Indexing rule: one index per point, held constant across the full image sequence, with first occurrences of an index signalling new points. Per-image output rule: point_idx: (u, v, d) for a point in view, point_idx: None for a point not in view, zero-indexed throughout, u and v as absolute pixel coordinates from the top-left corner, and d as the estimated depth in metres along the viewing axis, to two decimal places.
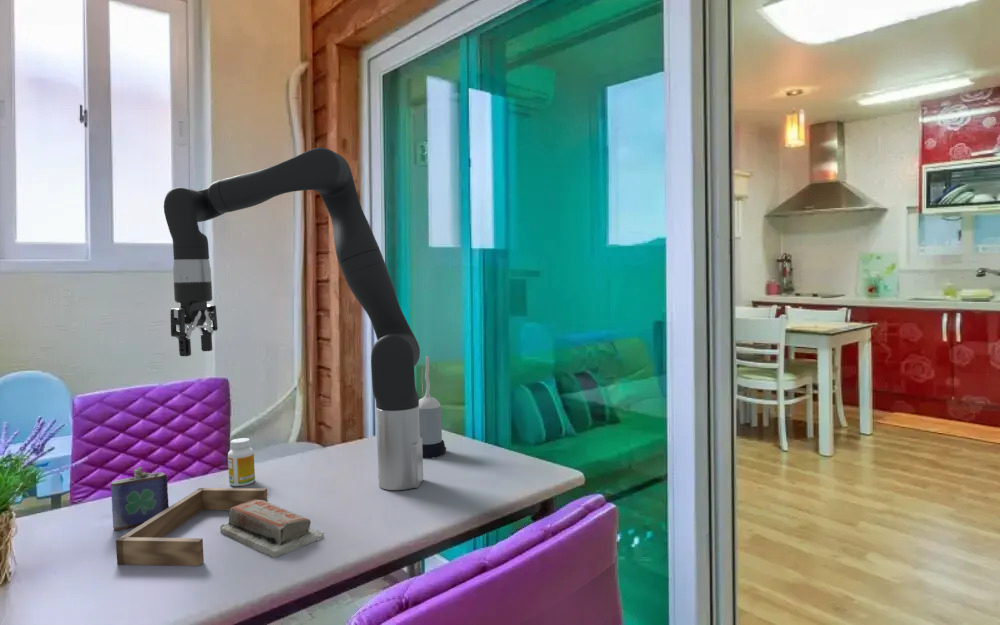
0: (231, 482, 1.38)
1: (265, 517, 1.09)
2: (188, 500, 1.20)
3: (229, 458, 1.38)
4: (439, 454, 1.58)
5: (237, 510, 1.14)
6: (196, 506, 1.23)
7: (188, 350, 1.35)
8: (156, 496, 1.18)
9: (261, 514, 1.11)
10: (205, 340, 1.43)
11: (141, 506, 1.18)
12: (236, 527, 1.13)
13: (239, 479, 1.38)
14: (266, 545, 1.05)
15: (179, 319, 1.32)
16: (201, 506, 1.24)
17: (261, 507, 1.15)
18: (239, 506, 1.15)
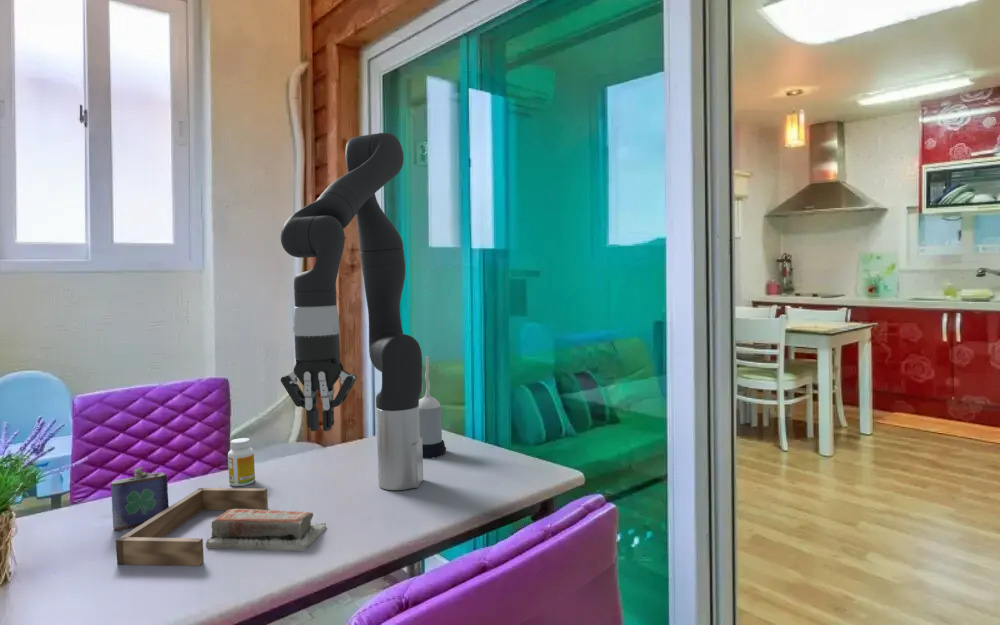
0: (231, 482, 1.38)
1: (271, 518, 1.09)
2: (188, 500, 1.20)
3: (229, 458, 1.38)
4: (439, 454, 1.58)
5: (225, 520, 1.09)
6: (196, 506, 1.23)
7: None
8: (156, 496, 1.18)
9: (261, 517, 1.10)
10: (316, 416, 1.10)
11: (141, 506, 1.18)
12: (227, 538, 1.09)
13: (239, 479, 1.38)
14: (288, 542, 1.06)
15: (350, 387, 1.10)
16: (201, 506, 1.24)
17: (249, 512, 1.12)
18: (222, 517, 1.10)
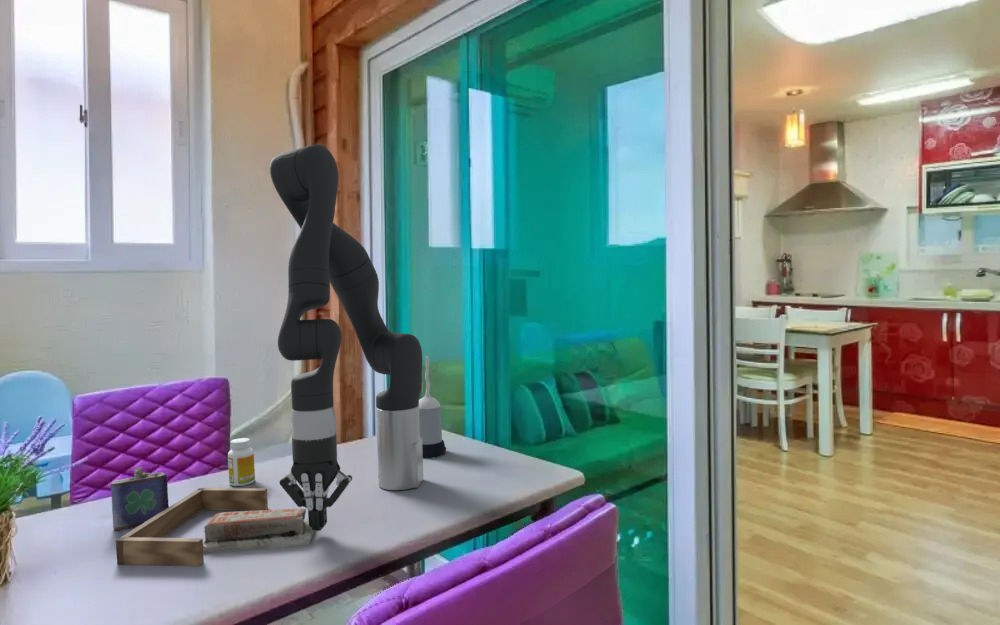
0: (231, 482, 1.38)
1: (269, 517, 1.10)
2: (188, 500, 1.20)
3: (229, 458, 1.38)
4: (439, 454, 1.58)
5: (220, 523, 1.08)
6: (196, 506, 1.23)
7: None
8: (156, 496, 1.18)
9: (257, 517, 1.10)
10: None
11: (141, 506, 1.18)
12: (222, 541, 1.07)
13: (239, 479, 1.38)
14: (291, 538, 1.08)
15: (345, 488, 1.11)
16: (201, 506, 1.24)
17: (241, 514, 1.11)
18: (214, 521, 1.09)
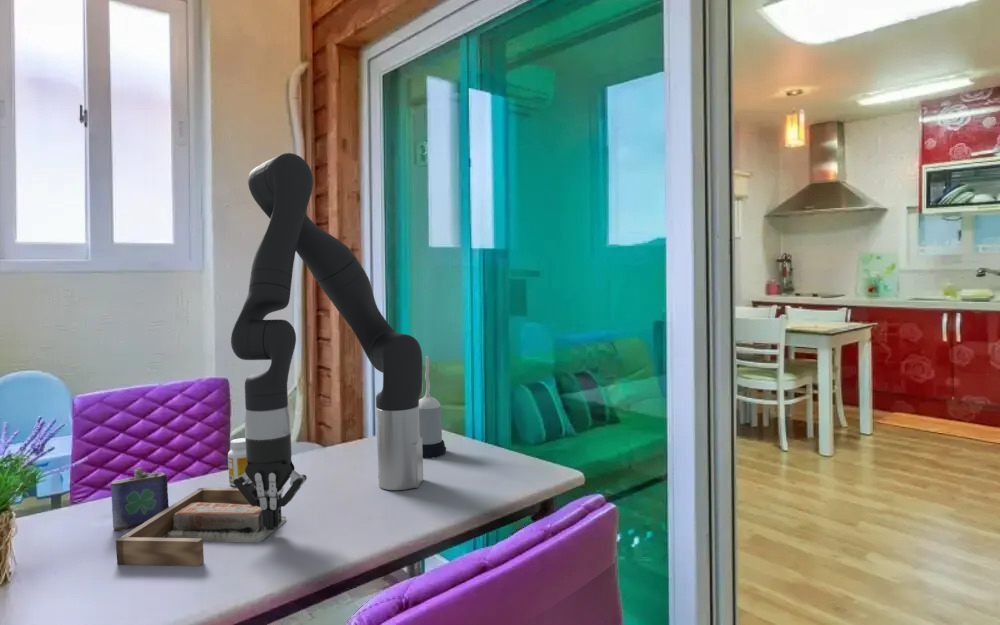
0: (231, 482, 1.38)
1: (230, 511, 1.13)
2: (188, 500, 1.20)
3: (229, 458, 1.38)
4: (439, 454, 1.58)
5: (186, 513, 1.13)
6: None
7: None
8: (156, 496, 1.18)
9: (221, 510, 1.13)
10: None
11: (141, 506, 1.18)
12: (187, 530, 1.13)
13: None
14: (245, 535, 1.10)
15: (299, 488, 1.12)
16: None
17: (210, 506, 1.16)
18: (184, 510, 1.14)
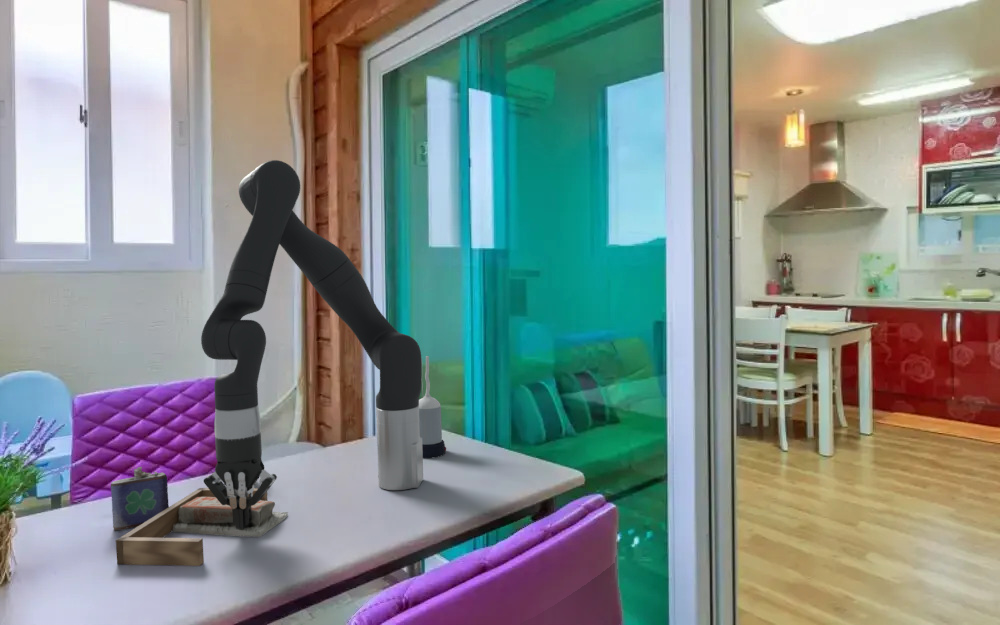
0: None
1: None
2: (188, 500, 1.20)
3: None
4: (439, 454, 1.58)
5: (191, 507, 1.16)
6: None
7: None
8: (156, 496, 1.18)
9: (224, 505, 1.16)
10: None
11: (141, 506, 1.18)
12: (192, 523, 1.15)
13: None
14: (246, 529, 1.12)
15: (269, 487, 1.12)
16: None
17: (214, 500, 1.19)
18: (189, 504, 1.17)
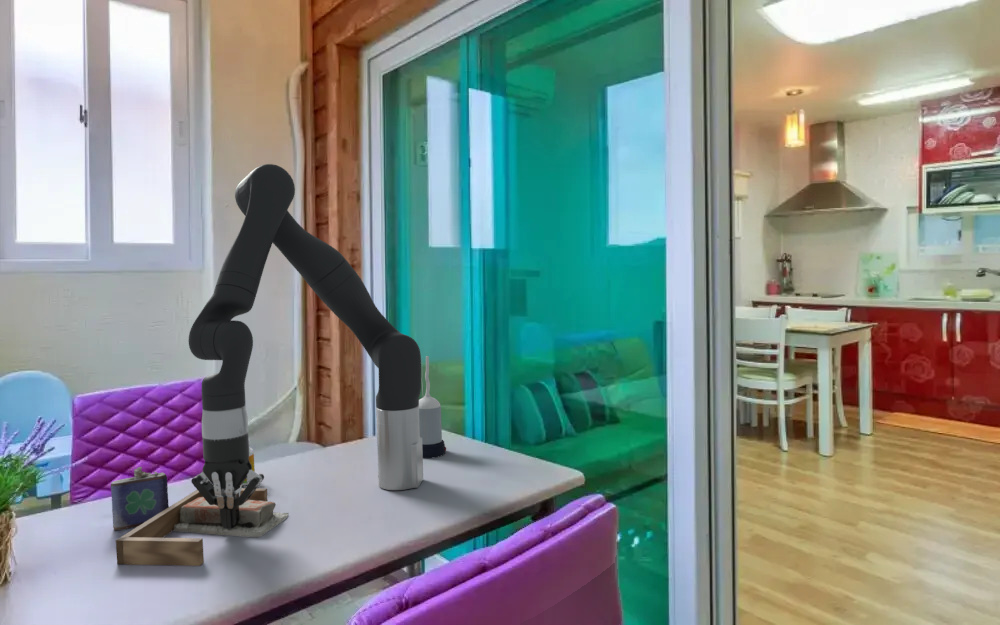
0: None
1: None
2: (188, 500, 1.20)
3: None
4: (439, 454, 1.58)
5: (192, 507, 1.16)
6: None
7: None
8: (156, 496, 1.18)
9: None
10: None
11: (141, 506, 1.18)
12: (193, 523, 1.16)
13: None
14: (246, 530, 1.12)
15: (256, 487, 1.13)
16: None
17: None
18: (190, 504, 1.17)
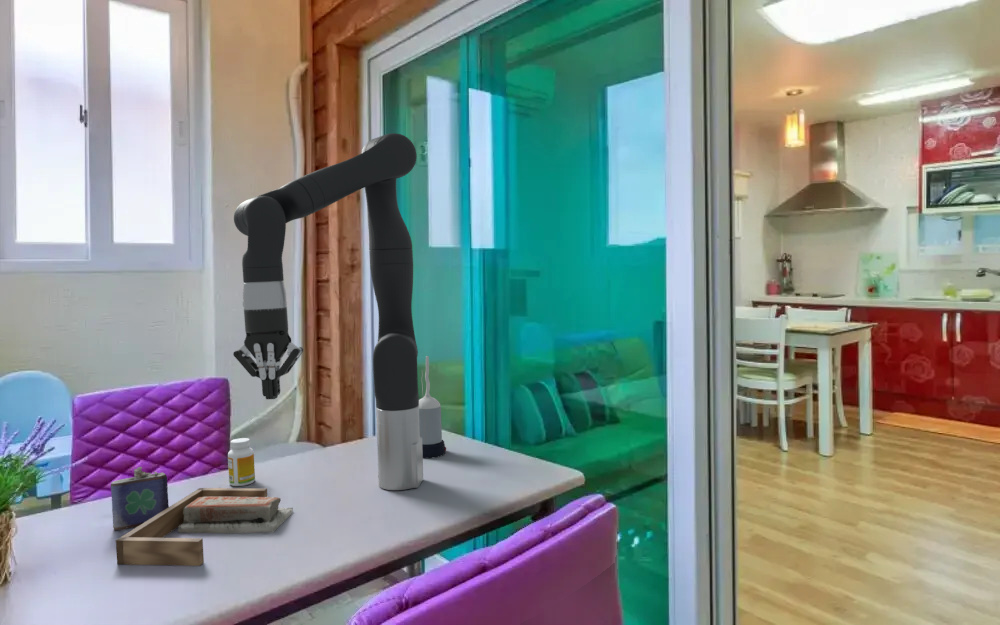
0: (231, 482, 1.38)
1: (241, 503, 1.16)
2: (188, 500, 1.20)
3: (229, 458, 1.38)
4: (439, 454, 1.58)
5: (197, 506, 1.16)
6: None
7: None
8: (156, 496, 1.18)
9: (231, 503, 1.17)
10: None
11: (141, 506, 1.18)
12: (198, 523, 1.15)
13: (239, 479, 1.38)
14: (258, 525, 1.14)
15: (296, 359, 1.18)
16: None
17: (219, 499, 1.19)
18: (193, 504, 1.17)
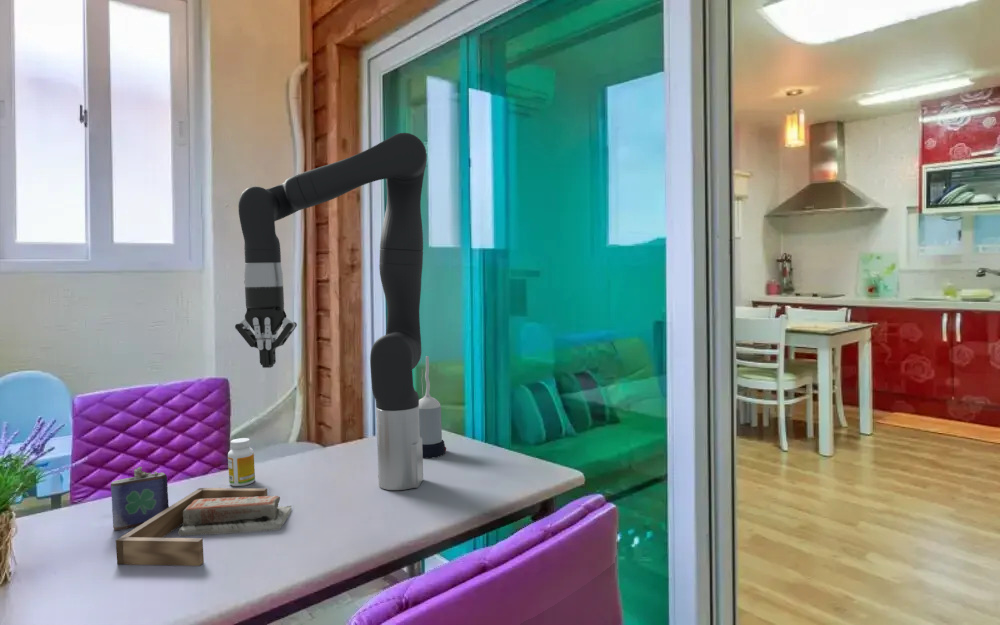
0: (231, 482, 1.38)
1: (243, 503, 1.16)
2: (188, 500, 1.20)
3: (229, 458, 1.38)
4: (439, 454, 1.58)
5: (197, 508, 1.15)
6: None
7: None
8: (156, 496, 1.18)
9: (233, 503, 1.17)
10: None
11: (141, 506, 1.18)
12: (199, 525, 1.14)
13: (239, 479, 1.38)
14: (264, 523, 1.15)
15: (290, 333, 1.32)
16: None
17: (218, 500, 1.18)
18: (192, 506, 1.16)
